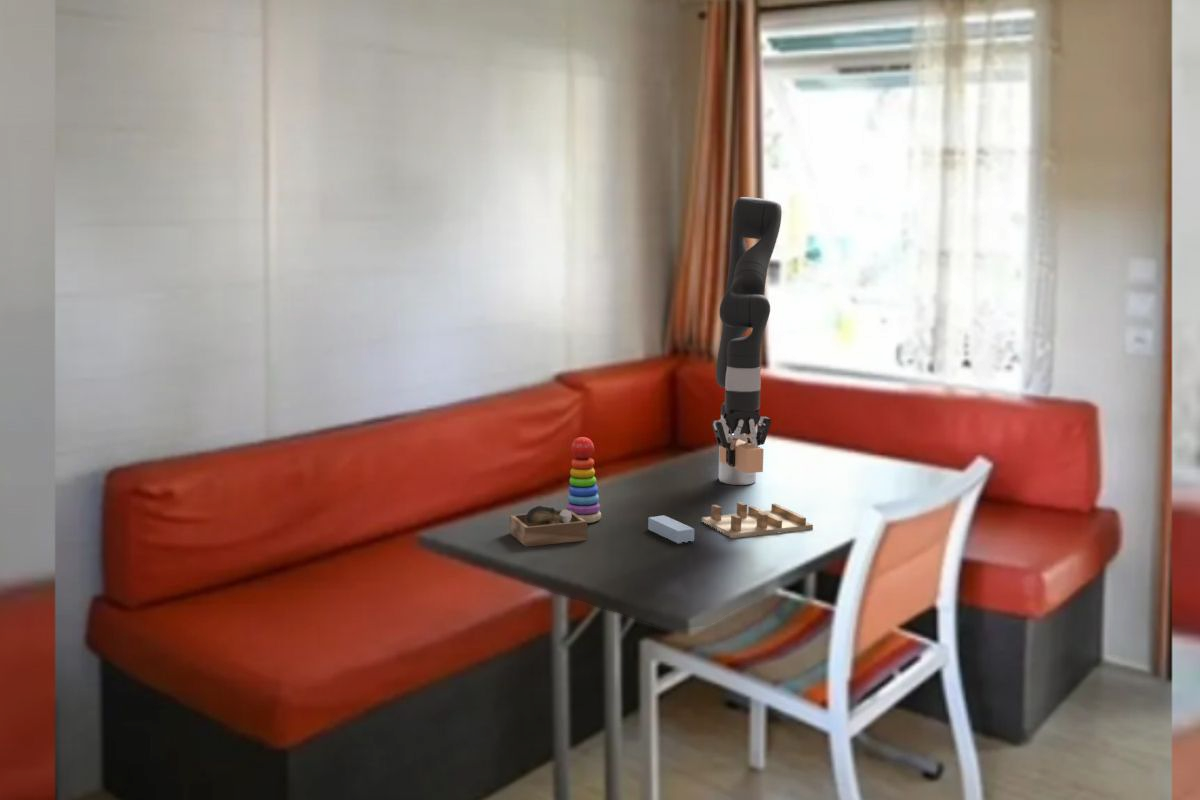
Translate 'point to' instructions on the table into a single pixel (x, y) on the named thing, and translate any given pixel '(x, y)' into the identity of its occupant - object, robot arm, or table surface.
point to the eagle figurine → (548, 516)
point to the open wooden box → (547, 530)
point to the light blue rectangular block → (671, 529)
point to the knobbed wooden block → (745, 457)
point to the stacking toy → (583, 482)
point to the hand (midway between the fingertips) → (740, 464)
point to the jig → (756, 521)
